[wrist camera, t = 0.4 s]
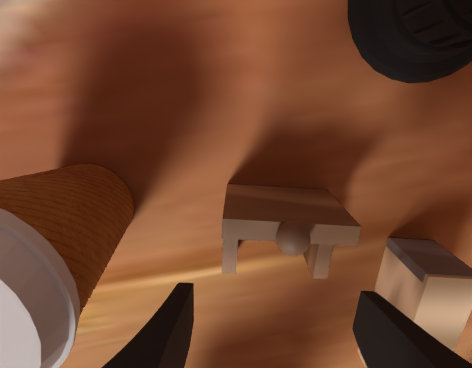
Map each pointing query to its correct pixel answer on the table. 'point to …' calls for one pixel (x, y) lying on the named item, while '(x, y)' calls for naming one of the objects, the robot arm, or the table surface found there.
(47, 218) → the disposable coffee cup
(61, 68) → the table surface
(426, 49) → the black ridged tower
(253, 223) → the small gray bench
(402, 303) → the beige rectangular block
